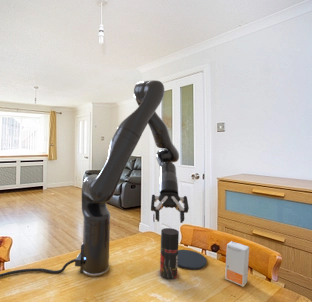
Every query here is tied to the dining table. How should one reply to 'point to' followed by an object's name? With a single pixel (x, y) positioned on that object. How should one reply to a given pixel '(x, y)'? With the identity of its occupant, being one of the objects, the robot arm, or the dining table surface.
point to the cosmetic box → (237, 263)
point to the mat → (191, 260)
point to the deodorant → (169, 253)
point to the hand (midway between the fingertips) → (170, 221)
